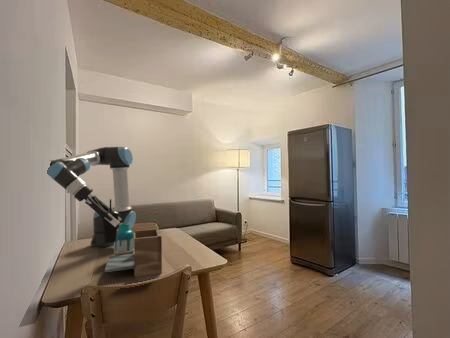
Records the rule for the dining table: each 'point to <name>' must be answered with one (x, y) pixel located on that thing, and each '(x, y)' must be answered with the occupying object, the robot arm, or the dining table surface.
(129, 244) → the vase
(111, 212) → the drinking cup
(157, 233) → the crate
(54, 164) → the robot arm
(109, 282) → the dining table surface
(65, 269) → the dining table surface
